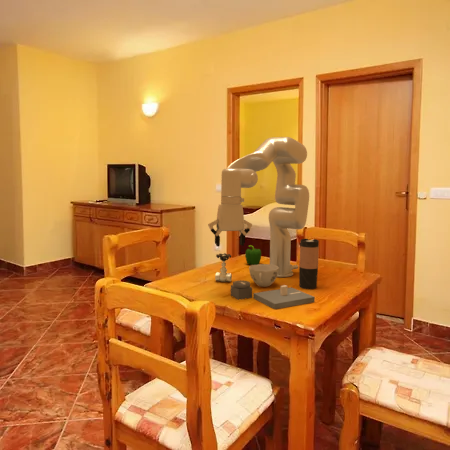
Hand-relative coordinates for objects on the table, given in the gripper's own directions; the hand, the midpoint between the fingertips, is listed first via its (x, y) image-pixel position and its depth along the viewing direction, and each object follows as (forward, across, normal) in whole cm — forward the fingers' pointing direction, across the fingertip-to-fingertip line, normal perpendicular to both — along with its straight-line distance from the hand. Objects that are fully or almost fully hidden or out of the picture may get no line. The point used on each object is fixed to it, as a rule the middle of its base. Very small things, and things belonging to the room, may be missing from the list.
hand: (229, 245), depth 159 cm
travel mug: (+19, -35, -3) cm, 40 cm away
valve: (+20, -3, -19) cm, 27 cm away
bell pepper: (+19, -27, -48) cm, 58 cm away
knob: (+20, -4, +4) cm, 20 cm away
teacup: (+19, -18, -9) cm, 28 cm away
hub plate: (+19, -18, +12) cm, 29 cm away
